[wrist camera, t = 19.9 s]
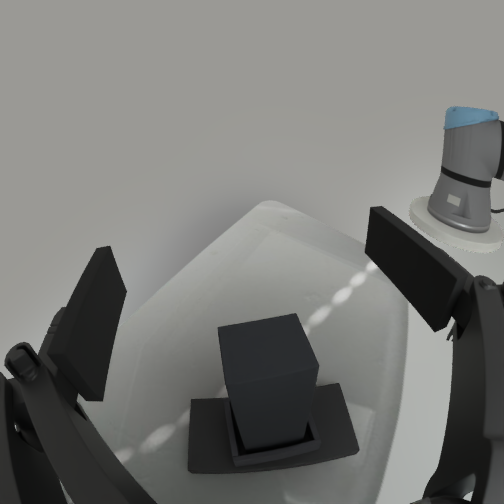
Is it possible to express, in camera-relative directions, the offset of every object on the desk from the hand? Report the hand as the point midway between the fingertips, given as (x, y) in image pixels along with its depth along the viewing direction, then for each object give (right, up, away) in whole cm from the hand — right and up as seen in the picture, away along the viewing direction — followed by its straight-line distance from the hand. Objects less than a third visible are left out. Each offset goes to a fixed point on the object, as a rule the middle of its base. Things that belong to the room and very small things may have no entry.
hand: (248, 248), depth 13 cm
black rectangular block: (+1, -13, +4) cm, 14 cm away
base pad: (+2, -14, +4) cm, 15 cm away
